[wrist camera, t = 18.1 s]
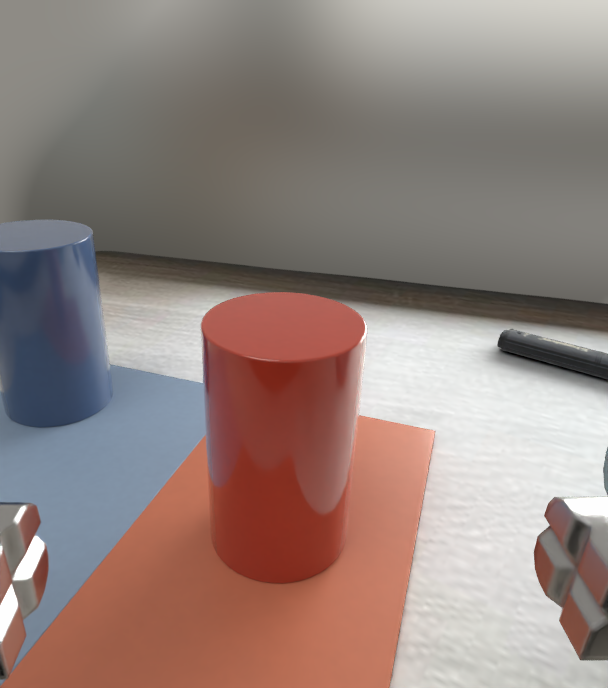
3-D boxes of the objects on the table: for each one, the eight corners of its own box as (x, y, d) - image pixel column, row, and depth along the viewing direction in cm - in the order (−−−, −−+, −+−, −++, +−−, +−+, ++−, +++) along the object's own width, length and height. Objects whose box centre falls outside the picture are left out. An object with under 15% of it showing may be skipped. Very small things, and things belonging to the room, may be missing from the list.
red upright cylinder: (185, 560, 23) (168, 341, 18) (243, 471, 28) (241, 283, 24) (326, 602, 21) (345, 374, 17) (360, 499, 27) (381, 304, 22)
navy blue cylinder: (-21, 415, 31) (-66, 241, 27) (52, 367, 37) (25, 214, 32) (70, 437, 30) (38, 257, 26) (133, 384, 35) (115, 227, 31)
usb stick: (638, 376, 40) (645, 356, 39) (635, 391, 38) (642, 371, 37) (503, 340, 44) (507, 322, 43) (494, 353, 42) (498, 334, 41)
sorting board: (-304, 584, 21) (-309, 576, 21) (53, 357, 39) (52, 352, 38) (359, 854, 15) (360, 845, 15) (434, 436, 32) (435, 430, 32)
